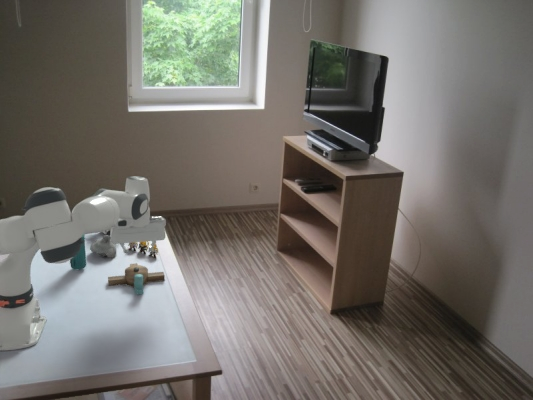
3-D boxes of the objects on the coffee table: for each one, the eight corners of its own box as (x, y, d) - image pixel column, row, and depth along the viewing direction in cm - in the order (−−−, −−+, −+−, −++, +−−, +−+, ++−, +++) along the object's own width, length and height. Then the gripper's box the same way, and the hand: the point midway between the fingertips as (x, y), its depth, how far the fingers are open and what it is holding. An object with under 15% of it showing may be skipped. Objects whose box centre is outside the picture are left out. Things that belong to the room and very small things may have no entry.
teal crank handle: (133, 286, 227) (133, 271, 225) (141, 286, 228) (141, 270, 226) (135, 294, 222) (134, 278, 220) (143, 293, 223) (143, 277, 221)
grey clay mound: (121, 257, 257) (126, 238, 252) (103, 267, 247) (108, 248, 242) (101, 244, 260) (105, 225, 256) (82, 254, 250) (86, 234, 246)
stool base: (165, 284, 232) (165, 270, 230) (109, 289, 225) (108, 276, 223) (160, 266, 246) (159, 253, 244) (106, 271, 239) (106, 258, 237)
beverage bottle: (89, 266, 242) (87, 222, 235) (83, 274, 236) (80, 229, 229) (74, 265, 242) (71, 221, 235) (67, 272, 236) (64, 227, 229)
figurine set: (131, 247, 262) (131, 233, 260) (160, 256, 255) (160, 242, 253) (126, 249, 259) (126, 236, 257) (155, 259, 252) (155, 245, 250)
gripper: (164, 212, 219) (164, 245, 224) (109, 216, 213) (110, 250, 218) (167, 219, 214) (167, 252, 219) (110, 223, 207) (111, 257, 212)
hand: (138, 251), depth 218 cm, fingers open, 8 cm apart
